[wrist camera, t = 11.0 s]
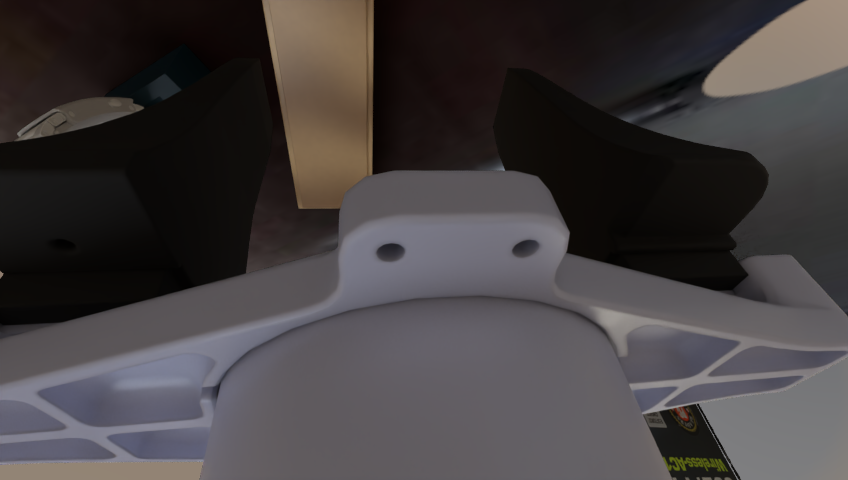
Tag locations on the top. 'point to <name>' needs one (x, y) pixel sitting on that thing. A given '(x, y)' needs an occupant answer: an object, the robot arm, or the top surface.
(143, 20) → the top surface
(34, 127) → the watch
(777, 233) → the top surface
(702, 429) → the router box
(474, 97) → the top surface
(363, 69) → the pencil box
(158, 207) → the robot arm
